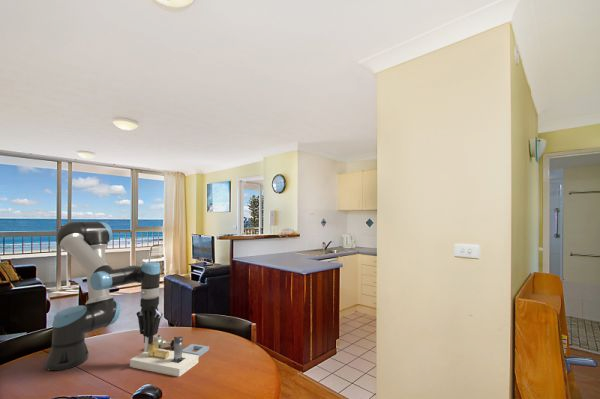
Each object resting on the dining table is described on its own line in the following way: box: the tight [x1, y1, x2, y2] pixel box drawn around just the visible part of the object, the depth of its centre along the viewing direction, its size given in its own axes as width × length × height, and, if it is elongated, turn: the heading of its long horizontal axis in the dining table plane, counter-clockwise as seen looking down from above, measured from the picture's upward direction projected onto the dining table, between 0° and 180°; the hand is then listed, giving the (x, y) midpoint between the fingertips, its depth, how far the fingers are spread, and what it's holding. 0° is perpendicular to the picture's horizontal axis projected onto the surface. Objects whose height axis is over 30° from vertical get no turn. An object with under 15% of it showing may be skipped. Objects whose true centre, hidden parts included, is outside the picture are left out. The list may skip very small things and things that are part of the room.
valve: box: [153, 334, 177, 351], centre depth 139 cm, size 7×7×12 cm
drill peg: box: [173, 336, 184, 363], centre depth 121 cm, size 3×3×12 cm
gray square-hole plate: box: [182, 343, 210, 358], centre depth 135 cm, size 10×8×2 cm
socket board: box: [129, 348, 200, 378], centre depth 123 cm, size 26×12×4 cm, turn 73°
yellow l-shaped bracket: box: [148, 342, 169, 358], centre depth 124 cm, size 9×3×5 cm, turn 73°
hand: (148, 350), depth 126 cm, fingers closed
